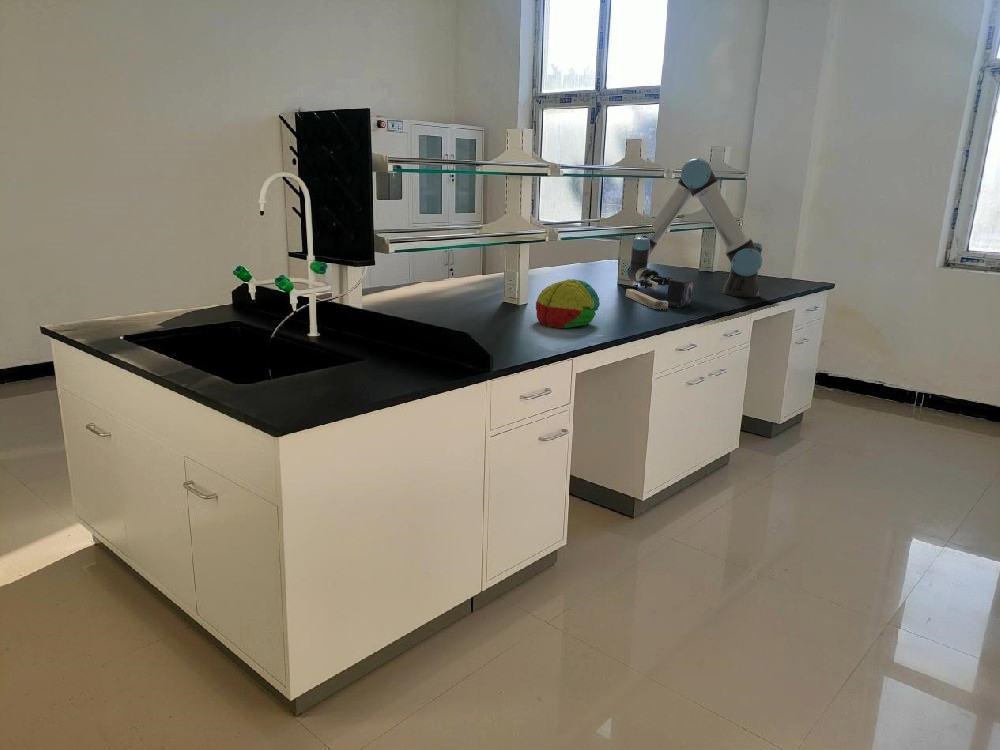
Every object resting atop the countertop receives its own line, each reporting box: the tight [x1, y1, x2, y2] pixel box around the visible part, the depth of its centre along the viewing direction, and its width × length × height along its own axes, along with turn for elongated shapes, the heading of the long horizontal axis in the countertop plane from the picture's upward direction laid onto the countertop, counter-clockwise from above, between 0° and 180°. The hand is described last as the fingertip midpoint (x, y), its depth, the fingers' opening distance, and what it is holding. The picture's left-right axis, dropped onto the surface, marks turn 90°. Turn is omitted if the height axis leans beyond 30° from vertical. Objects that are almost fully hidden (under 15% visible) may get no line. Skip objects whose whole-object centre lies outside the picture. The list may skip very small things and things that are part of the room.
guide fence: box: [625, 288, 669, 311], centre depth 287 cm, size 6×26×3 cm, turn 15°
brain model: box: [535, 278, 601, 329], centre depth 242 cm, size 24×19×15 cm
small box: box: [665, 276, 695, 309], centre depth 285 cm, size 11×6×10 cm, turn 143°
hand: (672, 286), depth 290 cm, fingers open, 13 cm apart
